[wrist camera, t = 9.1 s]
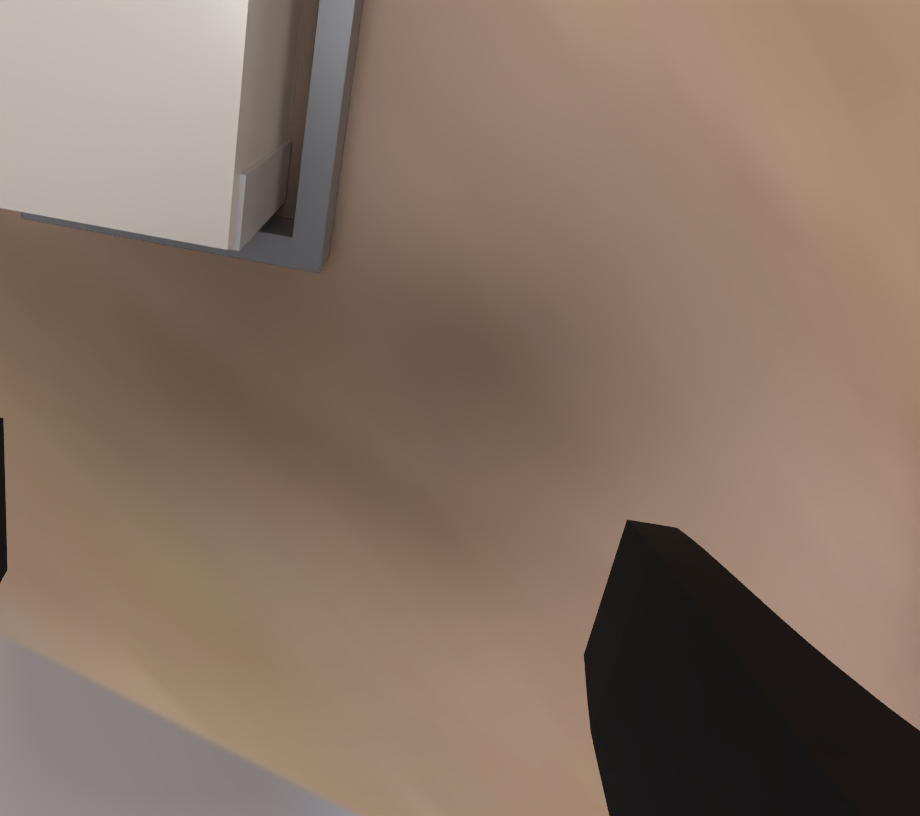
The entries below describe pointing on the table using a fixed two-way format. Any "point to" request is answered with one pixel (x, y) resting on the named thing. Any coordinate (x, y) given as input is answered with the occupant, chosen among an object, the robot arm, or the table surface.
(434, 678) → the table surface
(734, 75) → the table surface
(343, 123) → the fuse holder
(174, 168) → the block
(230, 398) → the table surface
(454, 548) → the table surface
